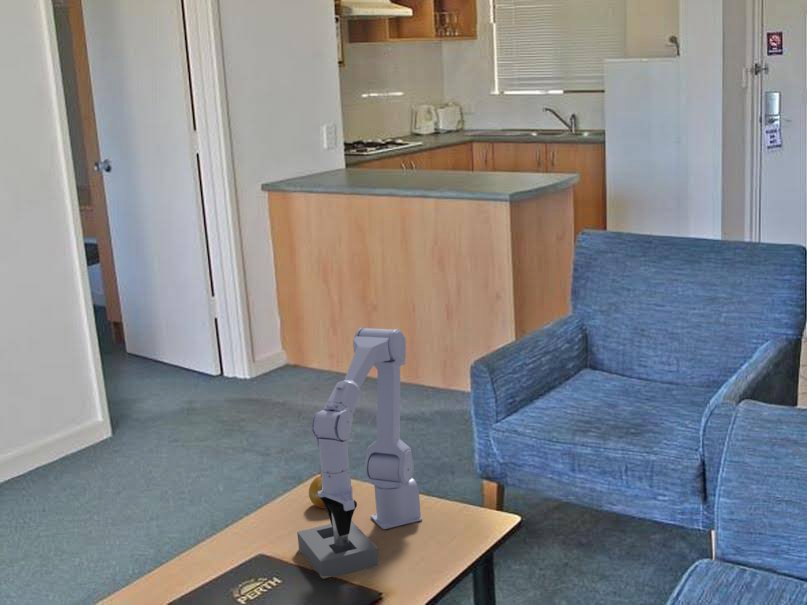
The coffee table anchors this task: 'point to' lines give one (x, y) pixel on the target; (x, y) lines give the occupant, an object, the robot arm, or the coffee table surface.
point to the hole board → (337, 551)
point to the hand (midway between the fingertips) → (341, 531)
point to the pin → (339, 539)
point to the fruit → (316, 492)
